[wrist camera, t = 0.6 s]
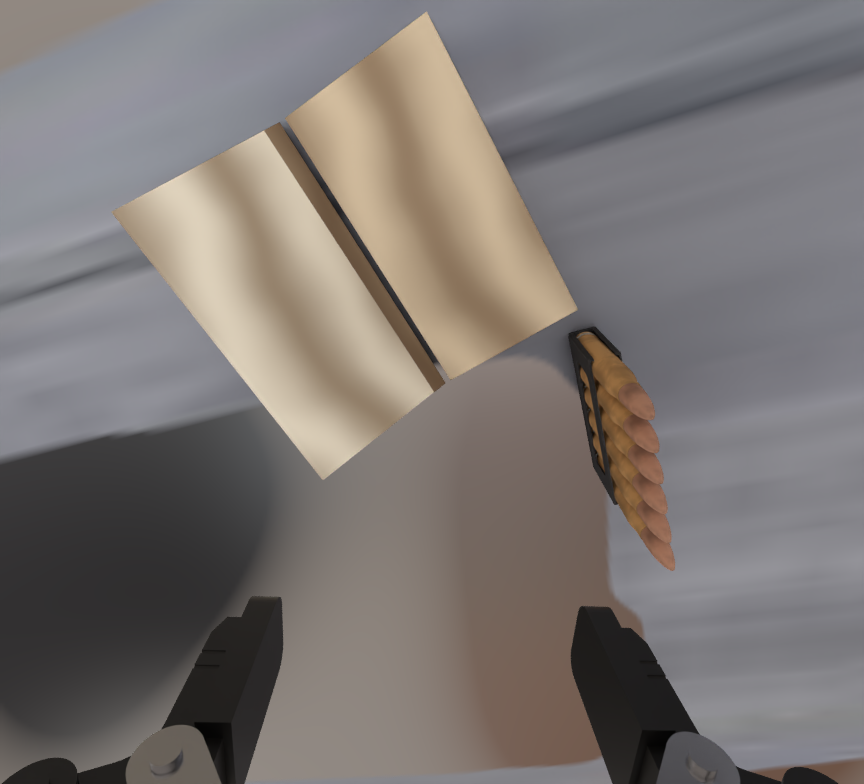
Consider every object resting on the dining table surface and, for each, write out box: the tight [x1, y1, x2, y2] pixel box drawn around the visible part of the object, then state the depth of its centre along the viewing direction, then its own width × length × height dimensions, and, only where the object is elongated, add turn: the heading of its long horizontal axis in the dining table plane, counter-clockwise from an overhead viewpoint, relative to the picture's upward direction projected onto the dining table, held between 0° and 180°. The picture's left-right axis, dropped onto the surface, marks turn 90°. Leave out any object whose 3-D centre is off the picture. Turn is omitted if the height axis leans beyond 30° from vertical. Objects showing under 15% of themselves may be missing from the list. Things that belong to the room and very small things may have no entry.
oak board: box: [285, 12, 578, 380], centre depth 30 cm, size 9×18×2 cm, turn 31°
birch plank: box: [112, 123, 445, 480], centre depth 30 cm, size 10×18×2 cm, turn 31°
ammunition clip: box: [568, 327, 675, 571], centre depth 29 cm, size 11×2×12 cm, turn 16°
